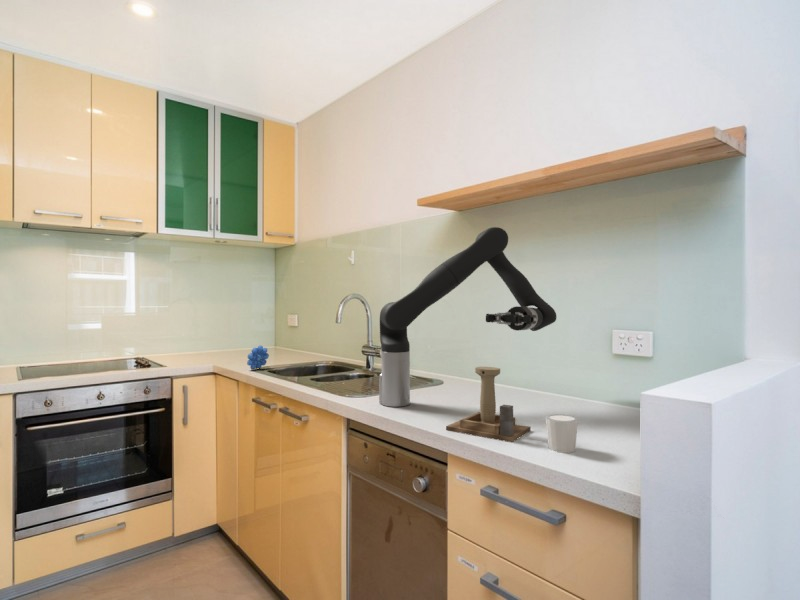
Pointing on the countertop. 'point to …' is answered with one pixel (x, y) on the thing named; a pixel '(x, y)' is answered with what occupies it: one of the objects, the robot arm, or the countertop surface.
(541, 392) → the countertop surface
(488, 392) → the handle
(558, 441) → the white faceted cup
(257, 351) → the grapes
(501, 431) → the seat board
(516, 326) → the robot arm
